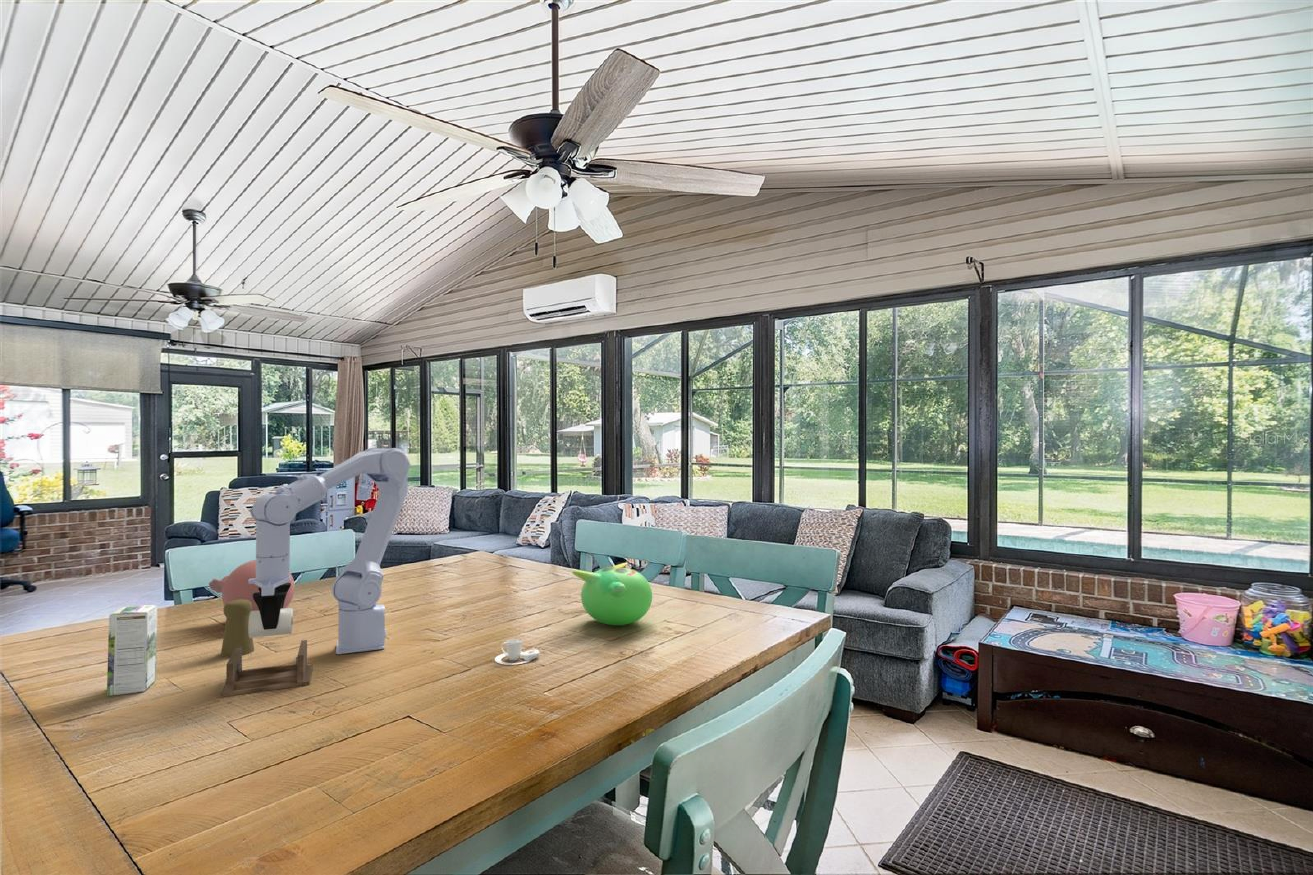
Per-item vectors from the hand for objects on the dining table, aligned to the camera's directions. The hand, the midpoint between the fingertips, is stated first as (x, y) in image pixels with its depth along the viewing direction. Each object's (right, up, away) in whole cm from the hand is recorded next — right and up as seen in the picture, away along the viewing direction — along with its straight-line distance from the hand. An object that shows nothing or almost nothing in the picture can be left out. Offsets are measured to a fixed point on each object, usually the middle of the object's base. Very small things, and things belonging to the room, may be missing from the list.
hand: (272, 625), depth 128 cm
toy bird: (+65, -10, +33) cm, 74 cm away
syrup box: (-20, -9, -9) cm, 24 cm away
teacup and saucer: (+47, -10, +5) cm, 49 cm away
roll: (0, -2, 0) cm, 2 cm away
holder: (+3, -9, -5) cm, 11 cm away
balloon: (-26, -9, +34) cm, 44 cm away
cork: (-14, -9, +11) cm, 20 cm away
